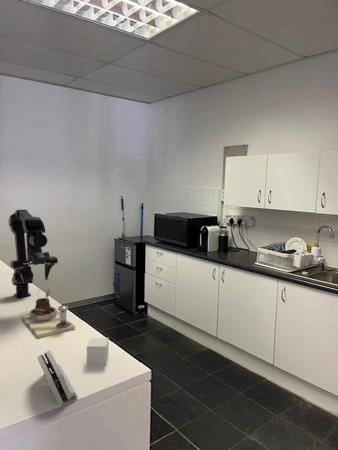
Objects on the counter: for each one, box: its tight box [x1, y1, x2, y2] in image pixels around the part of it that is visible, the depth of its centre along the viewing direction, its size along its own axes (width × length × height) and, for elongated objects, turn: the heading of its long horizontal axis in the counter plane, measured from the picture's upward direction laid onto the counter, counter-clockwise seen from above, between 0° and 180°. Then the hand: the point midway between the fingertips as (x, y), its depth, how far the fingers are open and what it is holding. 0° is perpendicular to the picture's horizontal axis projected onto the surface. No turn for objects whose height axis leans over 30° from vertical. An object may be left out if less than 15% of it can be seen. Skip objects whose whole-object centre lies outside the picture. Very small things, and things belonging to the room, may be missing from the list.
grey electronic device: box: [36, 350, 79, 405], centre depth 92 cm, size 17×5×10 cm, turn 32°
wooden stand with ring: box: [21, 304, 76, 339], centre depth 134 cm, size 22×14×9 cm, turn 38°
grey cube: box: [86, 337, 109, 365], centre depth 107 cm, size 6×6×6 cm
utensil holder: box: [34, 288, 52, 315], centre depth 138 cm, size 6×6×12 cm
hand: (35, 281), depth 148 cm, fingers open, 9 cm apart
